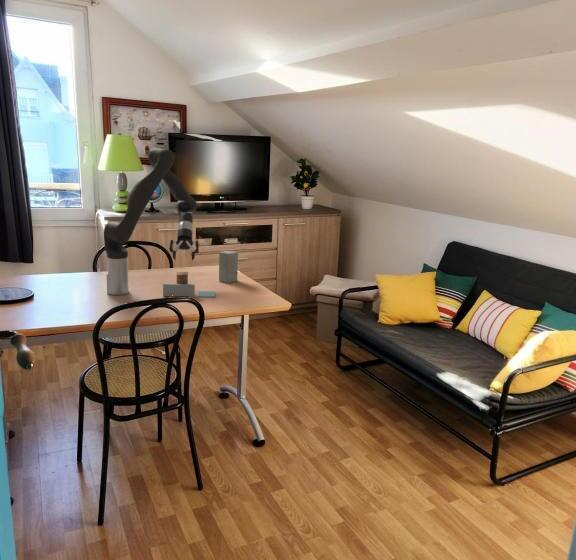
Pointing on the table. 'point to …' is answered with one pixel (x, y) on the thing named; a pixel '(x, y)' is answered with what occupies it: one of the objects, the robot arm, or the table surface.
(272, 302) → the table surface
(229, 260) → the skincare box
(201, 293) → the pad
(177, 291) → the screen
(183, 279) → the marked block
